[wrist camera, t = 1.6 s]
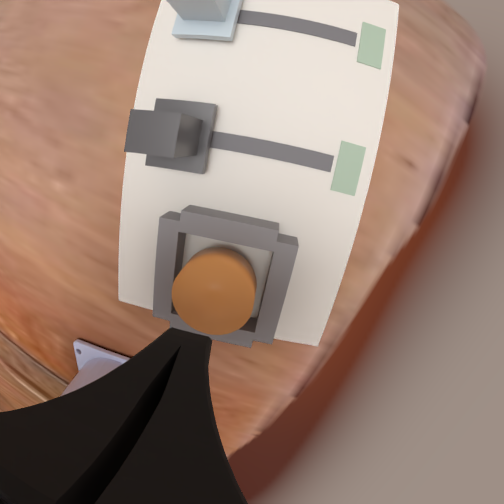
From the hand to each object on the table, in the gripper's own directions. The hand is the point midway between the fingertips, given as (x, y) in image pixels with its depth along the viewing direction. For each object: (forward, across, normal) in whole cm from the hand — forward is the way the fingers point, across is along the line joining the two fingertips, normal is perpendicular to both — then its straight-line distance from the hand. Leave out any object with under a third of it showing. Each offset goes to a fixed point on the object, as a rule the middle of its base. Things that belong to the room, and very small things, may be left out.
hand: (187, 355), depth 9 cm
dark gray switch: (+6, +3, -7) cm, 10 cm away
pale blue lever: (+6, +3, -13) cm, 15 cm away
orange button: (+6, 0, 0) cm, 6 cm away
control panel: (+8, 0, -6) cm, 11 cm away
